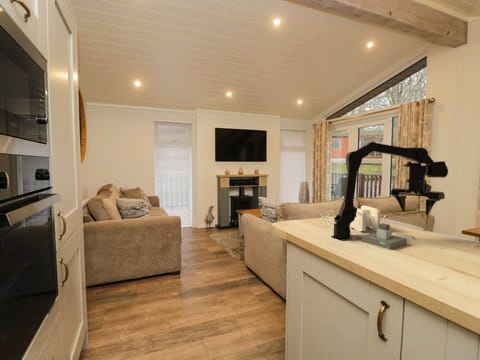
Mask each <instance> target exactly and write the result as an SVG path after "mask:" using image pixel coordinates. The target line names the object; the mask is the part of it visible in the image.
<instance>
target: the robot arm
mask: <svg viewBox="0 0 480 360" xmlns="http://www.w3.org/2000/svg"><path fill="white" fill-rule="evenodd" d="M373 152H374V153H377V154H378V153H380V154H383V155H391V156H396V157H400V158H403V159H404V160H407V162H406V163H405V164H404V165H403V167H404V168H405V167H406V168H408V179H407V180H406V183H408V188H407V189H406V188H399V187H397V188H396V187H395V188H392V189H391V190H390V195H391V196H393V198H395V199H396V201H397V203H398V205H399V206H400V208H401V209H400V210H401V211H402V212H403V213H405V212H406V199H407V196H413V197H414V196H415V197H417V196H418V197H424V198H425V197H426V198H427V199H425V216H429V215H430V214H431V212H432V211H431V210H432V209H433V207H434V205H435V204H436V203H437V202H439V201H440V202H441V200H445V198H446V197H445V196H446V195H445V193H444V192H443V191H435V190H432V186H431V185H430V184H428V183H427V179H426V176H427V178H437V179H438V178H442V179H443V178H447V176H448V175H449V169H448V166H447V165H446V161H443V160H442V161H434V160H433V159H432V158H431V156H430V155H429V152H428V150H427V149H426V148H424V147H403V146H402V147H401V146H396V145H389V144H385V143H378V142H375V141H371V142H368V143H367V144H365V145H364V146H362V147H360V148H359V149H357V150H353V151H350V152H347V154H346V155H345V165H346V178H345V186H344V187H345V188H344V195H343V202H342V203H341V206H340V208H339V212H338V214H337V215H336V216H335V217H333V220H334V222H335V223H333V235H331V238H334V239H337V240H339V241H347V240H350V239H352V238H353V237H352V236H351V228H350V223H351V222H353V221H354V219H355V217H357V216H356V212H357V208H358V207H356V206H355V205H354V202H355V201H354V200H355V194H356V193H355V192H356V185H357V177H358V171H359V169H360V167H361V165H362V162H363V159H365V157H367V156H368V155H370V154H371V153H373ZM431 190H432V191H431Z"/></svg>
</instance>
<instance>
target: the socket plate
mask: <svg viewBox="0 0 480 360" xmlns="http://www.w3.org/2000/svg"><path fill="white" fill-rule="evenodd" d="M394 235H395V234H391V239H388V240H385V239H381V238H378V237H377V231H375V232H372V233H368V234H365V235H362V237H361V238H362V239H361V242H362V243H363V244H366V245H367V244H368V245H371V246H373V247H375V248H376V247H378V248H379V249H381V250H382V249H383V250H386V251H387V250H388V251H391V250H394V249H397V248H400V247H402V246H407V245H408V244H407V242H408V241H407V239H406V238H402V237H398V236H394Z"/></svg>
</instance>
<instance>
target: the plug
mask: <svg viewBox="0 0 480 360" xmlns="http://www.w3.org/2000/svg"><path fill="white" fill-rule="evenodd" d="M390 227H391V225H390V224H389V223H384V222H382V223H380V224H379V228H377V231H376V232H377V237H378V238H381V239H385V240H388V239H391V235H393V233H392V228H390Z"/></svg>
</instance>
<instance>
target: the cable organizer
mask: <svg viewBox="0 0 480 360" xmlns="http://www.w3.org/2000/svg"><path fill="white" fill-rule="evenodd" d="M356 208H357V212H356V216H357V217H355V219H354V221H353V222H351V223H350V227H354V228H355V229H356V230H355V229H354V230H355V231H357V230H358V231H357V232H359V231H365V232H366V229H367V228H366V227H370V229H369V230H371V228H372V231H374V232H377V228H379V224H381V211H380V209H379V208H376V207H372V206H368V205H362V206H360V208H358V207H356Z"/></svg>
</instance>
